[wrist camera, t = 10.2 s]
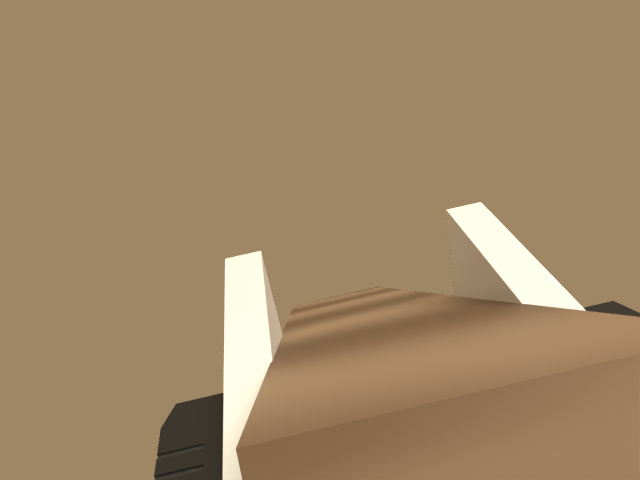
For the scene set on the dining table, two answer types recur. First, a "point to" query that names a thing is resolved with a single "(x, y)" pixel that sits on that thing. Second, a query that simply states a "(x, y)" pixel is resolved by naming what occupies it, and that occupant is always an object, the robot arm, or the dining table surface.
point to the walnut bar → (446, 392)
